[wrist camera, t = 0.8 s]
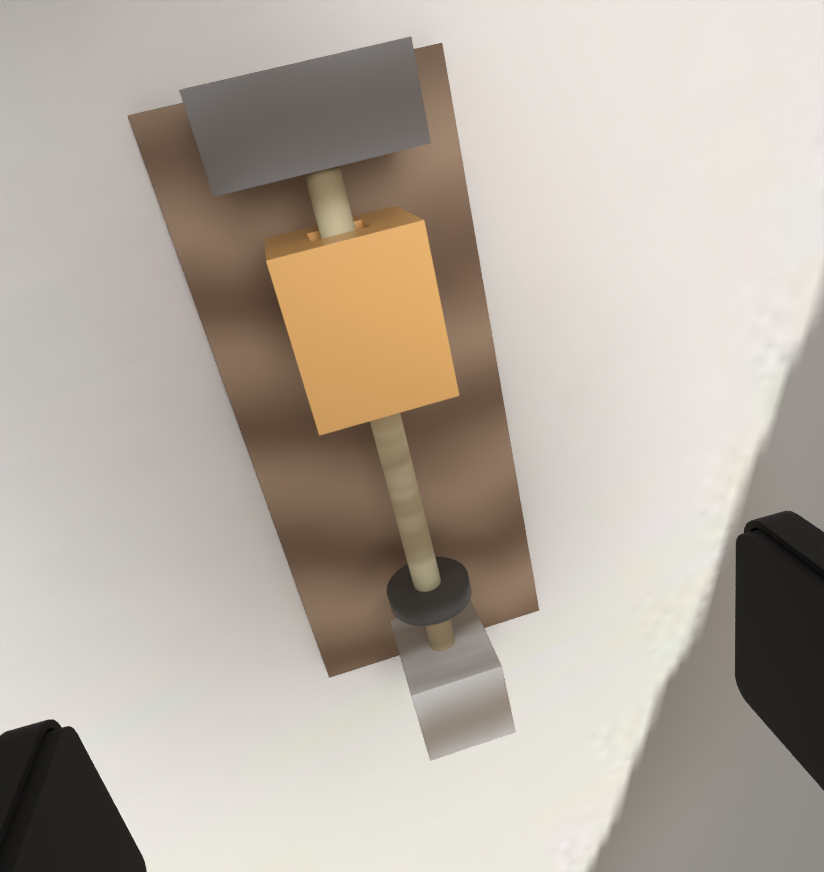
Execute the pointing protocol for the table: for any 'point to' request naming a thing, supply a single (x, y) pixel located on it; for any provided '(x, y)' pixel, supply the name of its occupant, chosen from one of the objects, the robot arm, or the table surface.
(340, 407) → the sleeve
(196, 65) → the table surface
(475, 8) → the table surface
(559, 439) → the table surface
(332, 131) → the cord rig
